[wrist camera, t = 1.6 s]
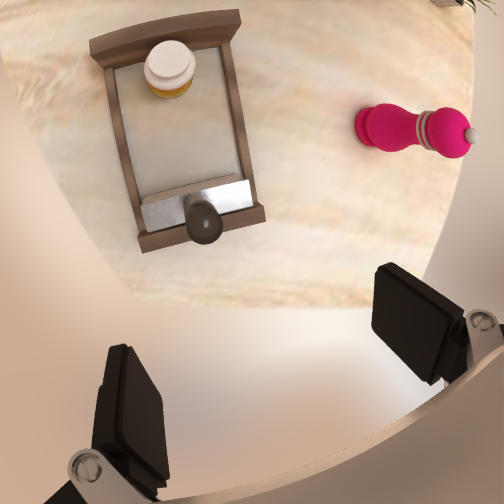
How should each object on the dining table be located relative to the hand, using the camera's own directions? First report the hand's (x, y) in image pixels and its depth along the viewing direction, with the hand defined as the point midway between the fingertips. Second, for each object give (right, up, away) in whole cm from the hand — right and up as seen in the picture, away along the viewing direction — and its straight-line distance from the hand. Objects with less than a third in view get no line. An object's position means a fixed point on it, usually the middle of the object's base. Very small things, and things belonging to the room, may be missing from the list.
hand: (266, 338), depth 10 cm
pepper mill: (+18, +22, +28) cm, 40 cm away
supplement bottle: (-11, +24, +20) cm, 33 cm away
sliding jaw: (-8, +10, +26) cm, 29 cm away
